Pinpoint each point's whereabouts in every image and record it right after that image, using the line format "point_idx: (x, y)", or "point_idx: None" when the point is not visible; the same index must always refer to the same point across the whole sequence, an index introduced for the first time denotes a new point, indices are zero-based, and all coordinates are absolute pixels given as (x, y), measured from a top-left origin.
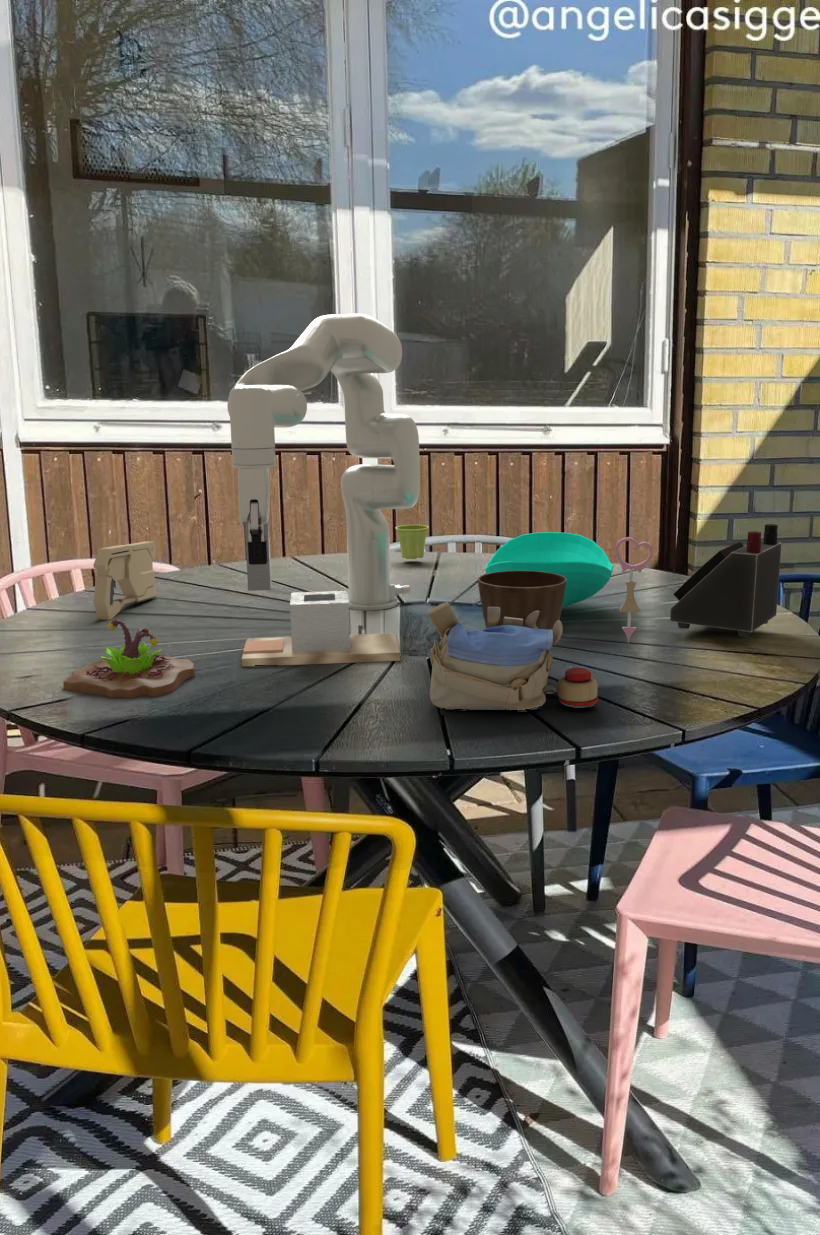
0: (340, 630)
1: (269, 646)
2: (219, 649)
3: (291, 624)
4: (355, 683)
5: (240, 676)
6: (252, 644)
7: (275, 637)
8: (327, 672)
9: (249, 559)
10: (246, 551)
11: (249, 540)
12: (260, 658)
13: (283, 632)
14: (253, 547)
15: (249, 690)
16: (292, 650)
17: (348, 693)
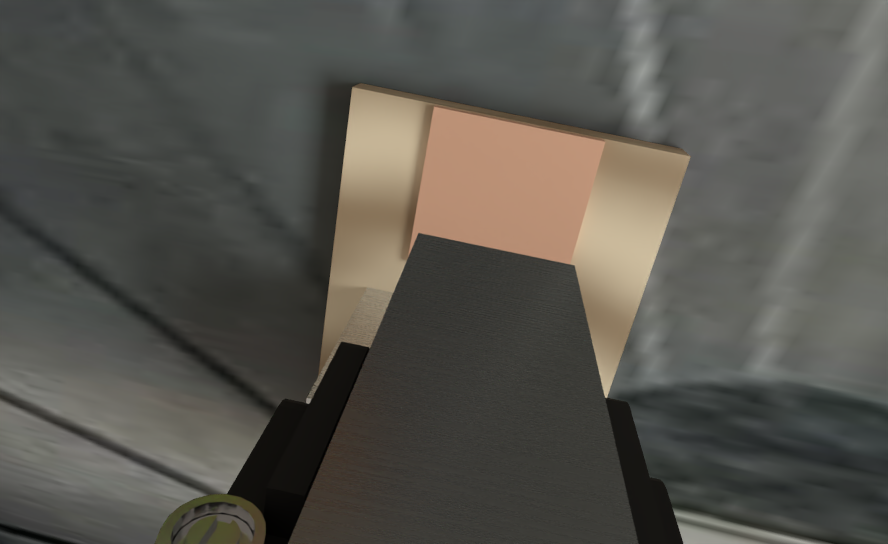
0: None
1: (475, 225)
2: (688, 12)
3: (335, 347)
4: (104, 392)
5: (234, 60)
6: (534, 161)
7: (649, 274)
8: (227, 350)
9: (330, 367)
10: (353, 396)
11: (175, 521)
12: (343, 164)
13: (843, 326)
14: (237, 488)
15: (58, 72)
16: (363, 294)
17: (13, 353)
